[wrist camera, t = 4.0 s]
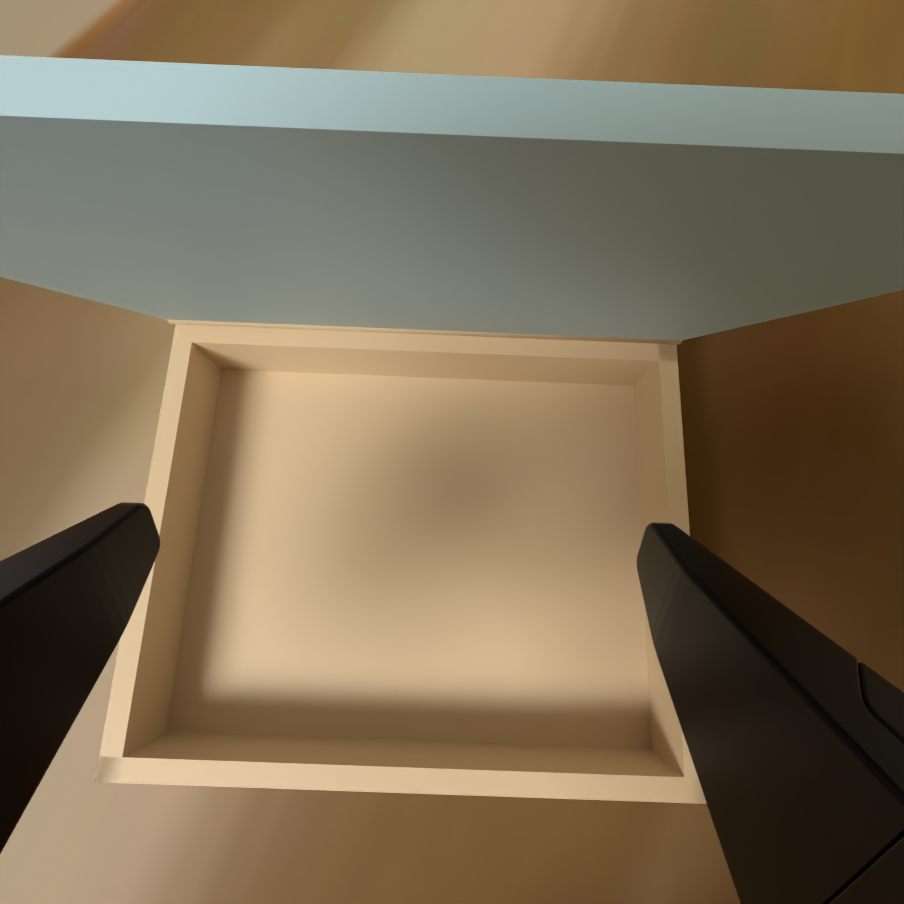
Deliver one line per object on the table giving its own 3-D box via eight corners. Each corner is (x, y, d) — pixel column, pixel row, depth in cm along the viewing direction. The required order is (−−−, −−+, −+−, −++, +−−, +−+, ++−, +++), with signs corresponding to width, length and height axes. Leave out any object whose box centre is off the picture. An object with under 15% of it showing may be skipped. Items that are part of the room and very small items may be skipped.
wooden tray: (668, 768, 16) (708, 803, 13) (149, 749, 16) (94, 782, 13) (646, 374, 19) (676, 344, 16) (211, 356, 19) (175, 324, 16)
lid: (1410, 190, 4) (1432, 101, 4) (-753, 99, 4) (-773, 6, 4) (674, 345, 16) (676, 325, 16) (176, 325, 16) (175, 305, 16)
